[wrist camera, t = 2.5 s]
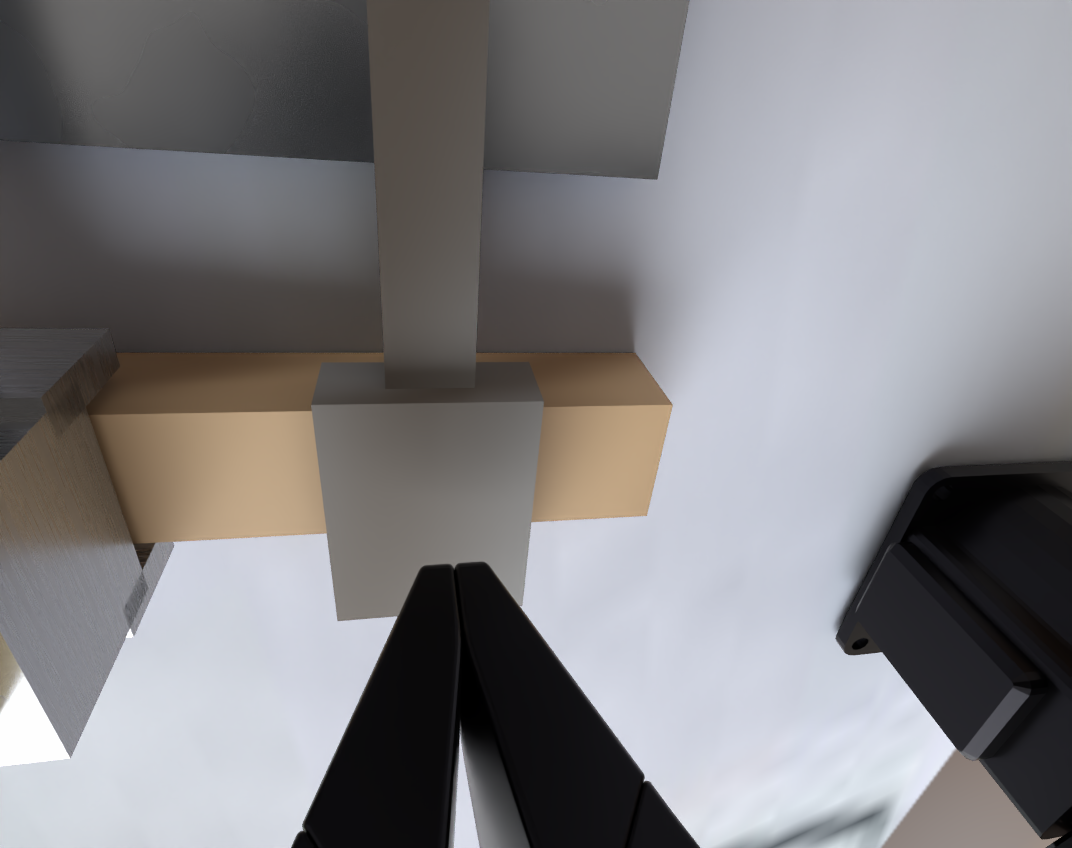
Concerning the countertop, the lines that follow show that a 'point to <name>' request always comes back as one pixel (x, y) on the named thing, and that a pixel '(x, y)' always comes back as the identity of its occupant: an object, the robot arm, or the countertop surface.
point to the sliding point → (60, 543)
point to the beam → (392, 380)
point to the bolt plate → (333, 79)
